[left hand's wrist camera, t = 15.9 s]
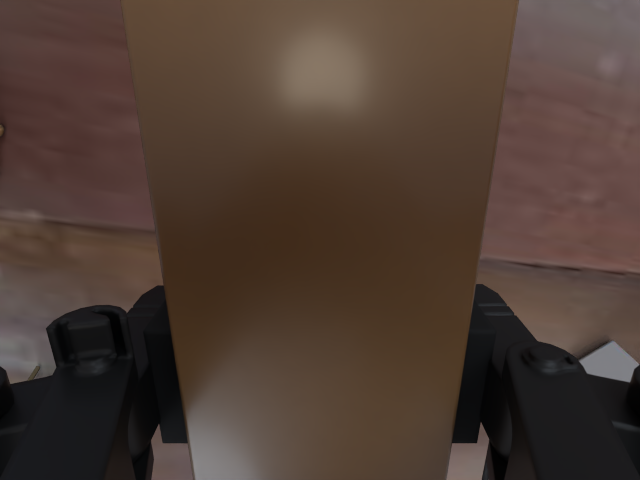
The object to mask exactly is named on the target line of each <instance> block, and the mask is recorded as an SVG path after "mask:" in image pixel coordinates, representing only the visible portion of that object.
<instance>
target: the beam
mask: <svg viewBox="0 0 640 480" xmlns="http://www.w3.org/2000/svg"><path fill="white" fill-rule="evenodd" d="M120 1H121V8H122V15H123V21H124V28H125V34H126V41H127V47H128V54H129V61H130V67H131V74H132V80H133V87H134V93H135V100H136V106H137V113H138V120H139V126H140V133H141V139H142V146H143V152H144V159H145V165H146V172H147V179H148V185H149V192H150V198H151V205H152V211H153V218H154V225H155V231H156V238H157V244H158V251H159V257H160V264H161V270H162V277H163V284H164V290H165V297H166V303H167V310H168V316H169V323H170V330H171V336H172V343H173V349H174V356H175V362H176V369H177V375H178V382H179V389H180V395H181V402H182V408H183V415H184V421H185V428H186V434H187V441H188V448H189V454H190V461H191V467H192V474H193V480H446V478H447V472H448V465H449V459H450V452H451V445H452V439H453V432H454V426H455V419H456V412H457V406H458V399H459V393H460V386H461V379H462V373H463V366H464V360H465V353H466V346H467V340H468V333H469V327H470V320H471V313H472V307H473V300H474V294H475V287H476V280H477V274H478V267H479V261H480V254H481V247H482V241H483V234H484V228H485V221H486V214H487V208H488V201H489V195H490V188H491V181H492V175H493V168H494V162H495V155H496V148H497V142H498V135H499V129H500V122H501V115H502V109H503V102H504V96H505V89H506V82H507V76H508V69H509V63H510V56H511V49H512V43H513V36H514V30H515V23H516V16H517V10H518V3H519V0H120Z"/></svg>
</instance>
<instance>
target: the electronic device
mask: <svg viewBox="0 0 640 480" xmlns="http://www.w3.org/2000/svg"><path fill="white" fill-rule="evenodd" d="M578 361H579V362H580V363H581V364H582V365H583V367H584V369H585V371H586V372H587V373H588V374H592V375H596V376H601V377H606V378H611V379H616V380H621V381H626V382H630V381H631V378H632V375H633V371H634V369H635V368H636V367H637V366H639V364H638V363H637V362H636V361H635V360H634V359H633V358H632V357H631V356H630V355H628V354H627V353H626V352H625V351H624V350H623V349H622V348H621V347H620V346H619V345H618V344H617V343H615V342H614V341H609V342H608V343H606V344H604V345H603V346H601V347H599V348H598V349H596V350H594V351H593V352H591V353H589V354H588V355H586V356H585V357H583V358H581V359H580V360H578Z"/></svg>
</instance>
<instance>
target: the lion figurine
mask: <svg viewBox="0 0 640 480" xmlns="http://www.w3.org/2000/svg"><path fill="white" fill-rule="evenodd" d="M3 132H4V128H3V126H2V125H1V124H0V136H1V135H2V134H3Z"/></svg>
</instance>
